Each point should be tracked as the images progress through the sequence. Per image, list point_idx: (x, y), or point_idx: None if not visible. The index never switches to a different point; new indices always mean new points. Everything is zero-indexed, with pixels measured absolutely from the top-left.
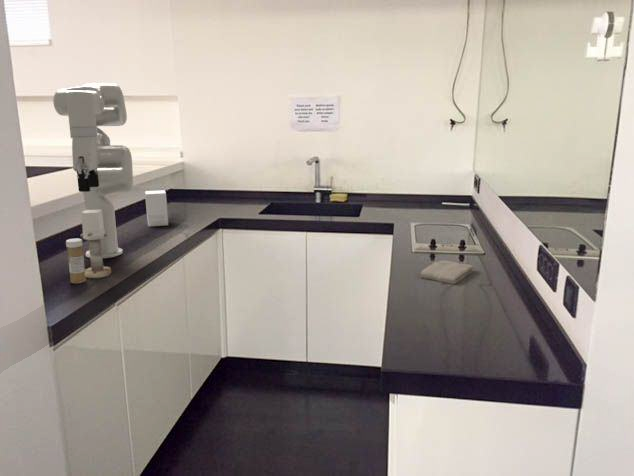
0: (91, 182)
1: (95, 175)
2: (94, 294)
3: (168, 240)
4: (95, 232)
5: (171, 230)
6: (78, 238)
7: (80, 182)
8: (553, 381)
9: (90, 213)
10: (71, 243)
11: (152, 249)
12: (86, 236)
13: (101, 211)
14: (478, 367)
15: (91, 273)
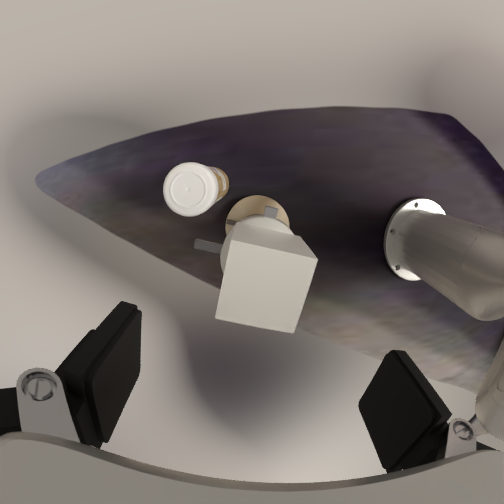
0: (390, 393)
1: (390, 461)
2: (117, 225)
3: (442, 355)
4: (222, 266)
5: (487, 351)
6: (206, 203)
7: (67, 362)
8: None
9: (222, 284)
10: (164, 183)
11: (405, 334)
12: (230, 230)
13: (280, 327)
14: None
15: (229, 214)
